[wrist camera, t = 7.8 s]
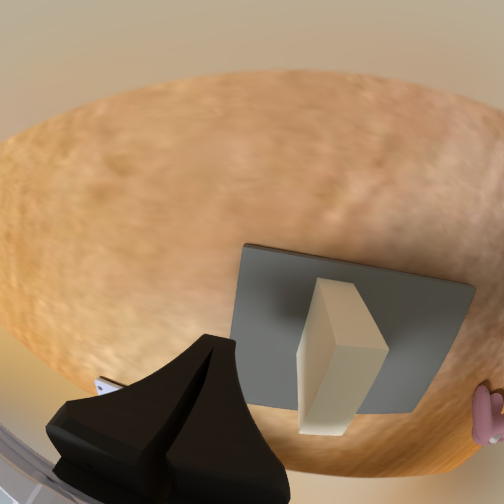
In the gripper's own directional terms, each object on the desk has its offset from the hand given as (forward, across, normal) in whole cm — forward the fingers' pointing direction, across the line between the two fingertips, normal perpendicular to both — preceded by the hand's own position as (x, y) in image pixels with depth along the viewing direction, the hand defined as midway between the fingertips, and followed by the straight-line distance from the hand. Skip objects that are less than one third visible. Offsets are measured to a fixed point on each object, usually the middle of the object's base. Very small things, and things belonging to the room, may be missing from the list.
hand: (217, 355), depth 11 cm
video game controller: (+5, -27, +6) cm, 28 cm away
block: (+4, -5, 0) cm, 7 cm away
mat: (+5, -8, +2) cm, 9 cm away
